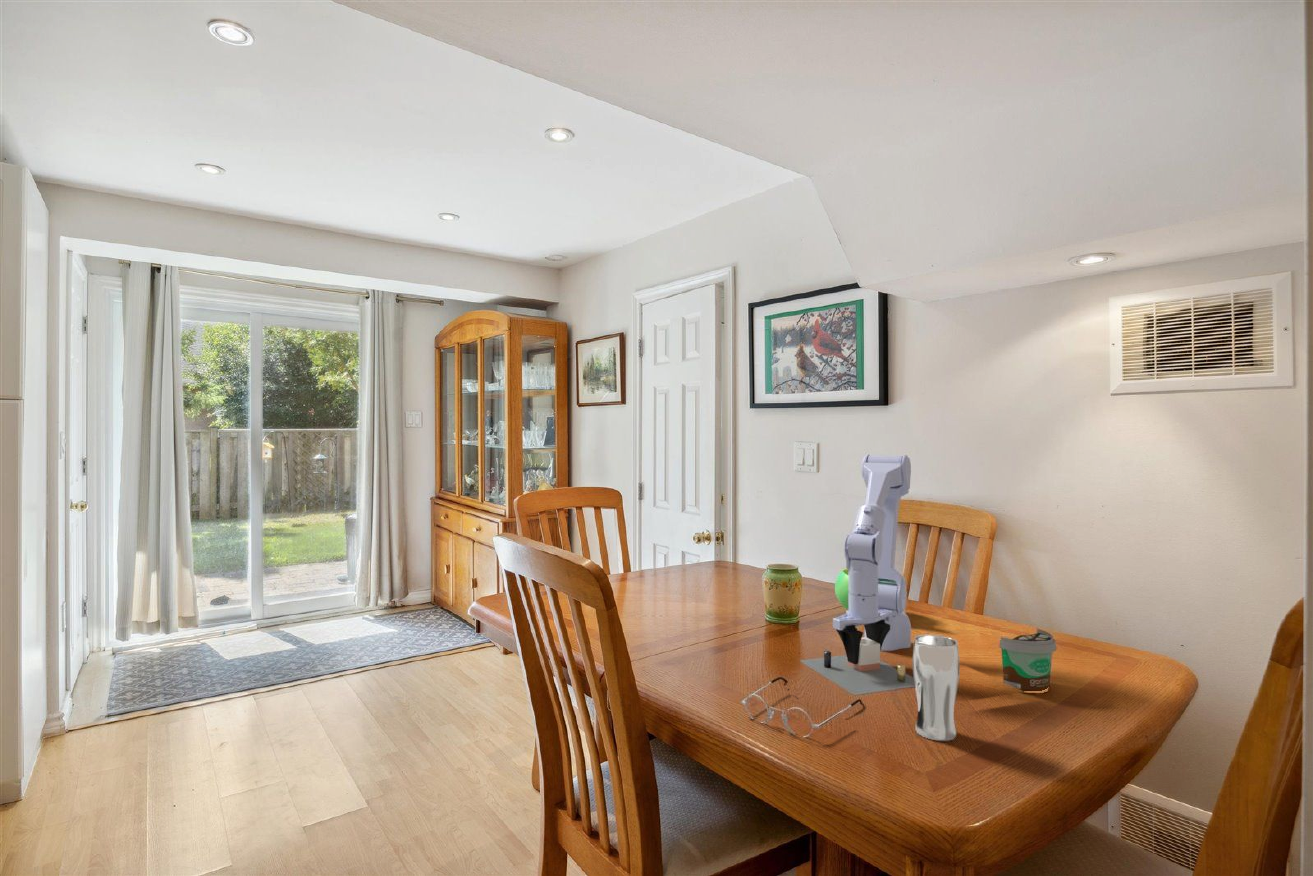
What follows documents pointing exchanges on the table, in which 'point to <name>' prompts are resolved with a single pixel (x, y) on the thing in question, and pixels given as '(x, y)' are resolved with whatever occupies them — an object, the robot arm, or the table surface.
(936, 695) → the beer glass
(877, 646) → the sleeve
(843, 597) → the toy bird
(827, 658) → the black pin
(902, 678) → the brass pin
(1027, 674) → the food container
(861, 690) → the pin board
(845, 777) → the table surface
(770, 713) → the eyeglasses
